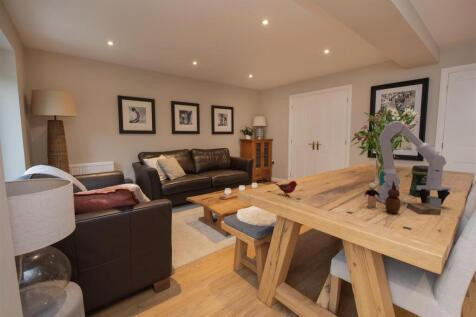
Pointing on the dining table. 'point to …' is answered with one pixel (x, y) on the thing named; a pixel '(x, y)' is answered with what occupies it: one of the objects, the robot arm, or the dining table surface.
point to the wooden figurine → (393, 200)
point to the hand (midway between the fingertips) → (431, 203)
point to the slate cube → (433, 201)
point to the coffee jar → (418, 179)
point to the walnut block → (424, 208)
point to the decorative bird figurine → (287, 187)
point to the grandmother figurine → (372, 195)
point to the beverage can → (382, 177)
